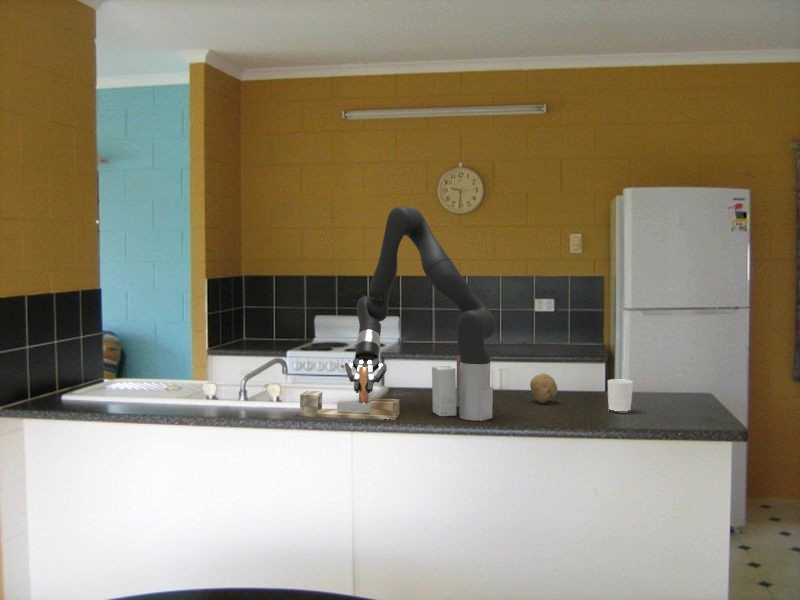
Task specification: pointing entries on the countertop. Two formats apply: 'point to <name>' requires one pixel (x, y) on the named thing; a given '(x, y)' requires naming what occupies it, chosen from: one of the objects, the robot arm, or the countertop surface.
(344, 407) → the copper rod stand
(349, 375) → the robot arm
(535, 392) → the tan round lump
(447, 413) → the skincare box
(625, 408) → the white cup
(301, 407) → the channel and socket
